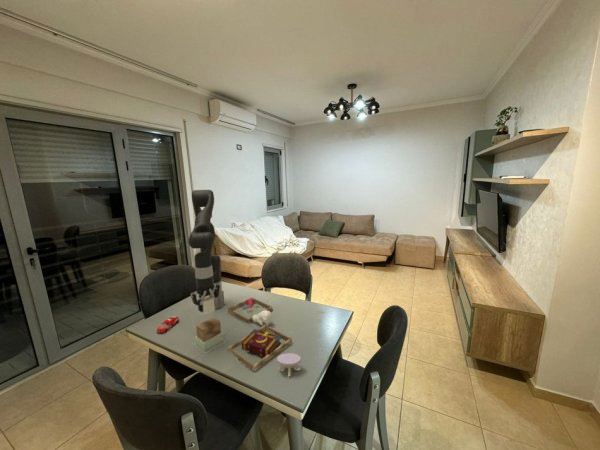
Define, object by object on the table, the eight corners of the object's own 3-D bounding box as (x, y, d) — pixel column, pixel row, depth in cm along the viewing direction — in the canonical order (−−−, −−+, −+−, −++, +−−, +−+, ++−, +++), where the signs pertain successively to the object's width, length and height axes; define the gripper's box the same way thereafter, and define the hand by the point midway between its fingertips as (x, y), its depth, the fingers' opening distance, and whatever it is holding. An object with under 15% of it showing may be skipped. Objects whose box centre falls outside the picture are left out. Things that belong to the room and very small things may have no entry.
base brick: (214, 334, 124) (214, 327, 123) (223, 340, 119) (223, 333, 118) (195, 344, 117) (195, 336, 116) (204, 351, 112) (203, 343, 111)
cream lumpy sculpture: (266, 314, 128) (248, 311, 133) (268, 329, 129) (250, 326, 135) (272, 309, 134) (255, 306, 139) (274, 323, 135) (256, 320, 140)
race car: (163, 335, 126) (162, 328, 125) (154, 334, 127) (153, 327, 126) (181, 321, 139) (180, 314, 138) (172, 320, 140) (172, 313, 139)
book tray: (265, 328, 130) (265, 324, 130) (291, 343, 119) (291, 338, 118) (227, 352, 112) (227, 347, 112) (254, 372, 101) (253, 366, 100)
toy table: (274, 377, 98) (274, 364, 97) (280, 361, 107) (280, 349, 106) (298, 380, 97) (298, 367, 96) (302, 363, 105) (302, 351, 104)
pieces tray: (251, 300, 161) (251, 297, 161) (272, 310, 149) (272, 306, 148) (227, 312, 147) (227, 308, 147) (248, 324, 135) (248, 320, 134)
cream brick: (209, 306, 118) (208, 295, 117) (214, 310, 115) (213, 298, 114) (199, 311, 115) (198, 299, 114) (204, 314, 111) (204, 302, 110)
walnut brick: (214, 328, 122) (213, 317, 121) (220, 332, 119) (220, 321, 118) (197, 337, 116) (196, 325, 114) (203, 342, 112) (202, 330, 111)
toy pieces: (238, 306, 154) (238, 300, 154) (255, 302, 160) (255, 295, 159) (245, 315, 144) (245, 308, 144) (262, 309, 150) (262, 303, 150)
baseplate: (214, 333, 126) (214, 331, 126) (227, 343, 119) (227, 341, 119) (191, 345, 117) (191, 343, 117) (204, 356, 110) (204, 354, 110)
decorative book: (269, 359, 107) (269, 349, 106) (239, 350, 113) (238, 340, 112) (281, 344, 118) (281, 334, 117) (252, 336, 124) (252, 327, 123)
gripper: (193, 282, 104) (196, 318, 107) (222, 272, 115) (224, 305, 118) (185, 277, 109) (188, 312, 112) (213, 268, 120) (216, 301, 123)
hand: (207, 308), depth 115 cm, fingers closed on cream brick, 5 cm apart
